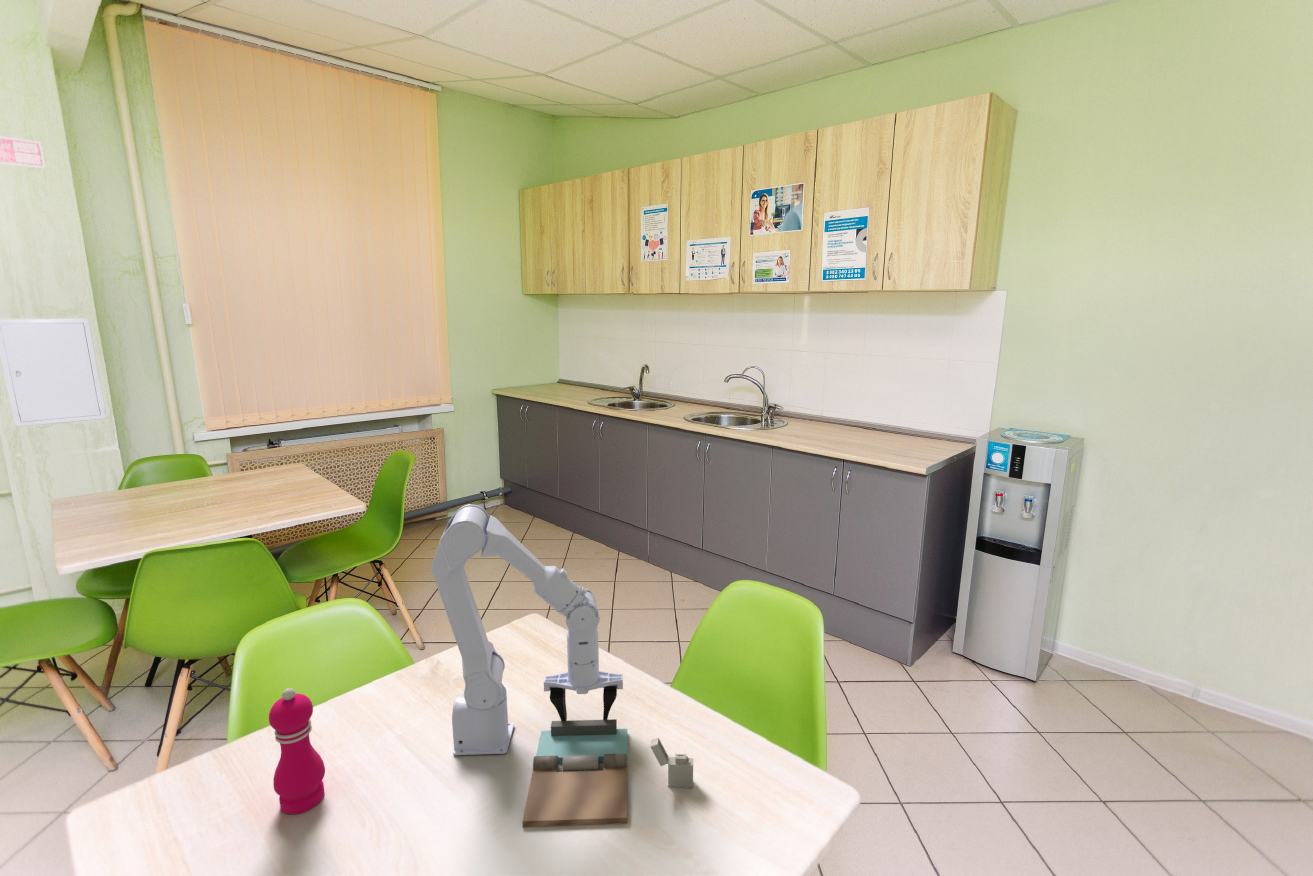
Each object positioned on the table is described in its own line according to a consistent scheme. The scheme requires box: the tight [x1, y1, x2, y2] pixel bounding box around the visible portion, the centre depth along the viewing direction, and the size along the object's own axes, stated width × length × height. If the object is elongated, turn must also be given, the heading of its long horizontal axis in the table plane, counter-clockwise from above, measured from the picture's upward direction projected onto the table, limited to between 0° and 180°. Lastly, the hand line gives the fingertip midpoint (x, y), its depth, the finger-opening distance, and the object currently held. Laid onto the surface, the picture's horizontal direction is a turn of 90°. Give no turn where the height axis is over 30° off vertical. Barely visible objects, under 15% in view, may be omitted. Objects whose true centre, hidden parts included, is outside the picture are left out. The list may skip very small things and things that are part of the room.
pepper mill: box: [268, 687, 326, 815], centre depth 99 cm, size 7×7×20 cm
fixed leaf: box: [521, 752, 628, 828], centre depth 102 cm, size 16×13×2 cm
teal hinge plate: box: [535, 718, 628, 772], centre depth 111 cm, size 16×10×3 cm, turn 92°
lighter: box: [650, 737, 694, 789], centre depth 103 cm, size 7×2×8 cm, turn 86°
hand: (584, 722), depth 117 cm, fingers open, 7 cm apart
